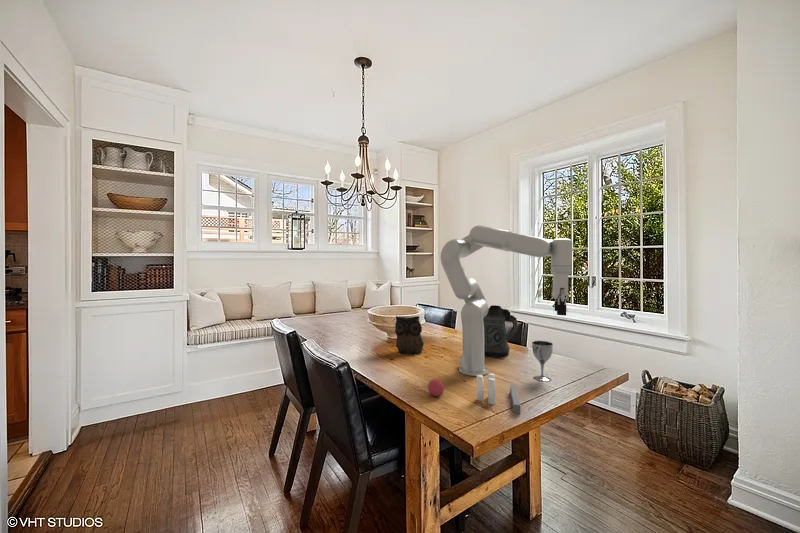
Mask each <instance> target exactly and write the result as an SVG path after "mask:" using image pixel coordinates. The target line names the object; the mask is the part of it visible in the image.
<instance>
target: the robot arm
mask: <svg viewBox="0 0 800 533" xmlns="http://www.w3.org/2000/svg"><path fill="white" fill-rule="evenodd" d="M484 247H486V248H490V249H496V250H499V251H505V252H511V253H517V254H521V255H526V256H531V257H536V258H545V257H550V274H553V275H552V290H551V294H552V295H551V297H552V298H553V300H554V311H555V312H556V314H557V315H558V316H567V299H568V297H569V295H568V294H569V275H571V274H573V273H572V272H573V266H572V265H573V240H572V239H570V238H554V239H547V238H543V237H538V236H532V235H526V234H522V233H517V232H514V231H511V230H506V229H500V228H497V227H491V226H486V225H474V226H473V227H472V228H471V229H470V230H469V234H468V235H466V236H464V237H463V238H461V239H460V238H454V239H450V240H449V241H447V242H446V243H445V244H444V246H443V247H442V249H441V251H440V263H441V265H442V268H443V270H444V272H445V275H446V277H447V280H448V283H449V284H450V286H451V289H452V292H453V293H454V295H455V297H456V298H457V299H459V300H463V301H464V305H462V308H461V311H460V316H461V317H460V319H461V327H462V357H460V359H458V361H457V362H458V363H459V364H461V366H460V367H459V368H458V369H459V370H458V371H459V373H461V374H462V375H466V376H471V377H477V375H482V376H485V375H488V374H489V369H488V368H487V367H486V366H485V356H484V323H483V318H484V317H485V316H486V315H487V314H488V310H489V308H490V307H489V304H488V301H487V300H486V298H485V295H484V293H483V291H482V289H481V286H480V284H479V283H478V281H477V280H475V279H474V278H472V277H469V276H468V274H467V272H466V270H465V267H464V266H463V264H462V262H461V261H460V259H461V258H463V259H464V258H466V257H469V256H471V255H472V254H474V253H476V252H477V251H478V250H480V249H482V248H484Z"/></svg>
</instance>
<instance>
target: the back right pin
mask: <svg viewBox="0 0 800 533" xmlns="http://www.w3.org/2000/svg"><path fill="white" fill-rule="evenodd" d="M487 404H488V405H491V406H493V405H495V404H496V378H495V379H493V378H489V379H488V378H487Z"/></svg>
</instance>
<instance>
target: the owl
mask: <svg viewBox="0 0 800 533" xmlns="http://www.w3.org/2000/svg"><path fill="white" fill-rule="evenodd" d="M394 324H395V325H394V328H395V329H394V331H395V332H394V333H395V335H396V343H395V347H396V348H397V351H398V352H397V353H398V354H399V353H400V355H407V354H412V356H413V355H414V354H416V355H420V353H423V348H424V344H425V343H424V340H423V336H422V332H423V331H422V330H423V329H422V328H423V327H422V324H421V322H420V316H419V315H417V316H412V315H411V316H410V315H409V316H408V315H404V316H403V315H402V316H397V315H396V316H395V323H394ZM414 356H415V355H414Z"/></svg>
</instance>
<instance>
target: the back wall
mask: <svg viewBox="0 0 800 533" xmlns="http://www.w3.org/2000/svg"><path fill="white" fill-rule="evenodd" d="M509 393H510V400H511V403H512V411H513V414H517V415H521V402H520V397H519V393H518V388H517V385H516V384H510V385H509Z"/></svg>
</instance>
